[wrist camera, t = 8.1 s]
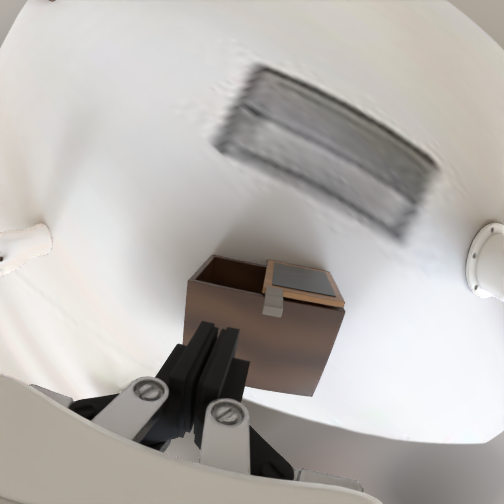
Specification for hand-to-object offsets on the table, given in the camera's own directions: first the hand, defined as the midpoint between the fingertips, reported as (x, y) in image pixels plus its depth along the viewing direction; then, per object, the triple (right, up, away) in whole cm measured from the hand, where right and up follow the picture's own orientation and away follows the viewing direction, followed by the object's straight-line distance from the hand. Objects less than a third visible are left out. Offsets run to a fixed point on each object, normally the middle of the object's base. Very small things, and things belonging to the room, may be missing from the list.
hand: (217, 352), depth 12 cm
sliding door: (+8, +2, +24) cm, 25 cm away
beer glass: (-37, +7, +28) cm, 47 cm away
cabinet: (+3, -3, +26) cm, 26 cm away
